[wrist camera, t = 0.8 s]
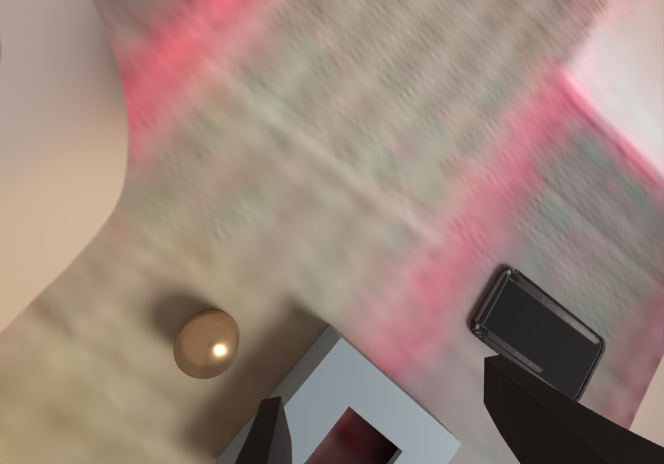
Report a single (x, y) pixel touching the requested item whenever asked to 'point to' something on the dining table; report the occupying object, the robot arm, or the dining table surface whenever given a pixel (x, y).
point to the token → (207, 344)
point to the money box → (351, 406)
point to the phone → (538, 334)
